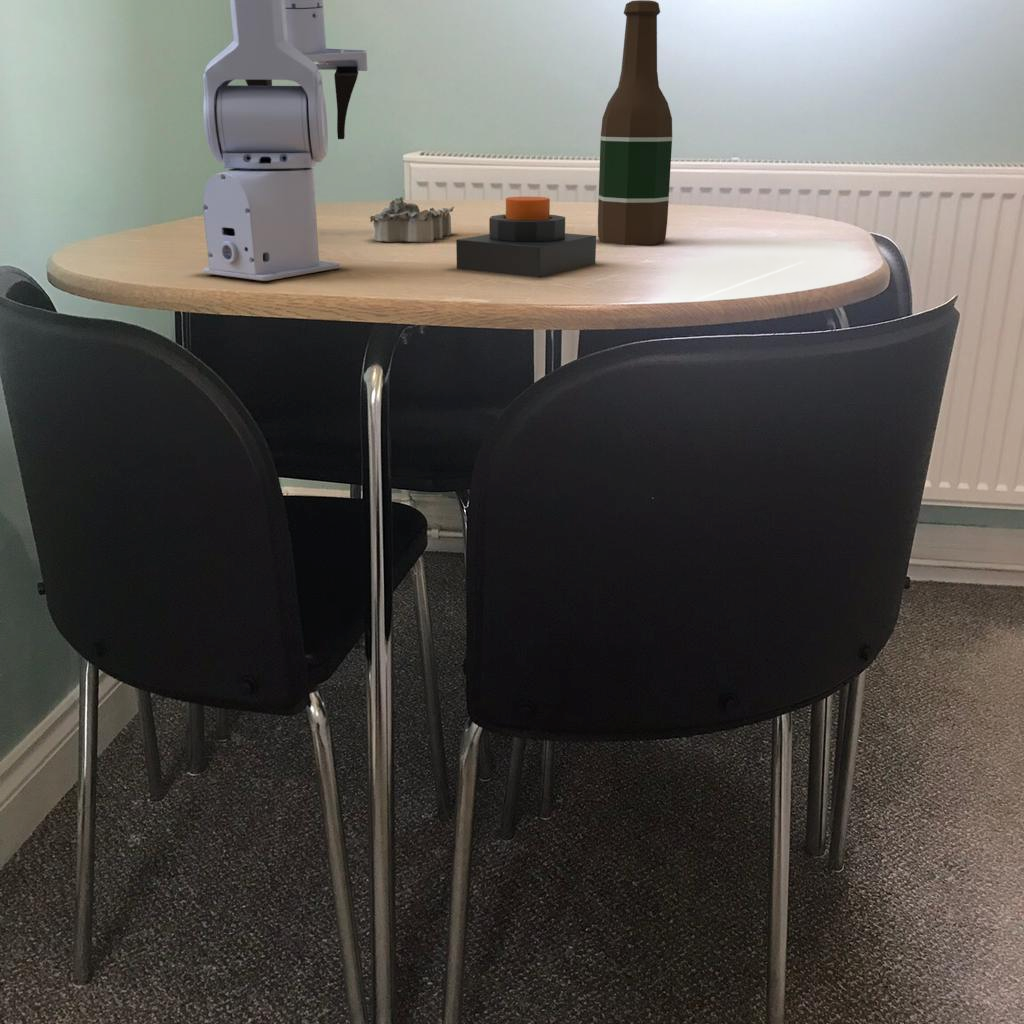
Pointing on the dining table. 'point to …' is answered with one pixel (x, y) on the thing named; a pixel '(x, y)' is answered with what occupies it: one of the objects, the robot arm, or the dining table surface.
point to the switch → (527, 208)
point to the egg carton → (411, 223)
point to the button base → (526, 248)
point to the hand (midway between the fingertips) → (307, 137)
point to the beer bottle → (636, 141)
